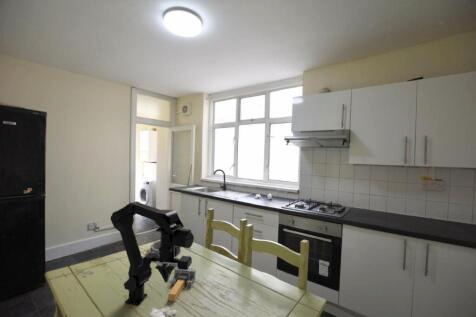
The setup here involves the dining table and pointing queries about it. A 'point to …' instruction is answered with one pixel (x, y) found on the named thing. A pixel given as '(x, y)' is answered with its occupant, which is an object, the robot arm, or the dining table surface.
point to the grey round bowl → (155, 248)
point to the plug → (178, 286)
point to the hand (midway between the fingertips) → (166, 281)
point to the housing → (178, 271)
